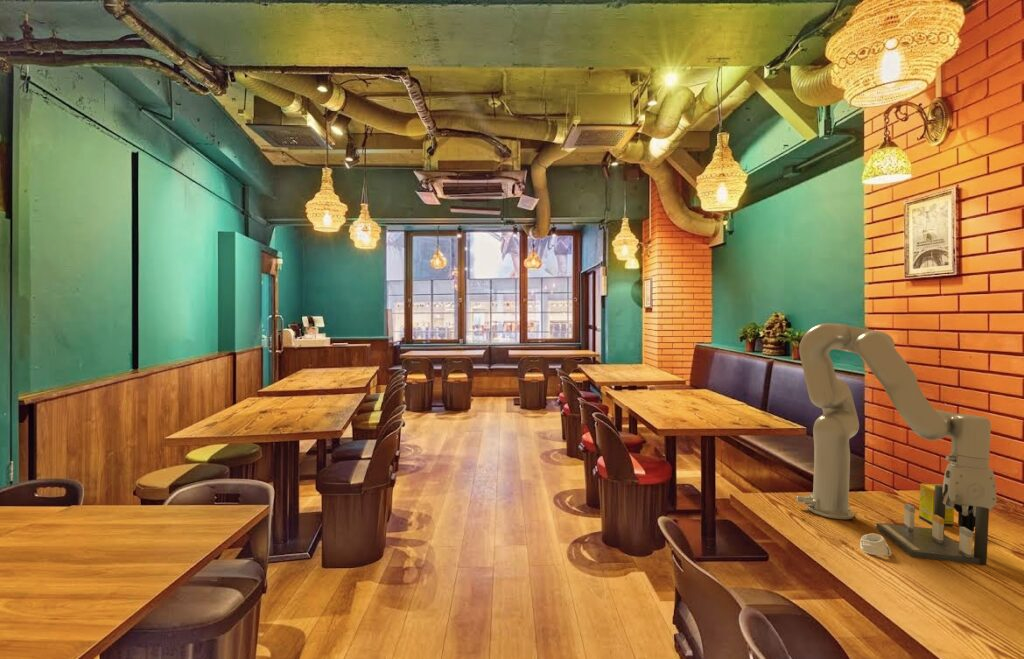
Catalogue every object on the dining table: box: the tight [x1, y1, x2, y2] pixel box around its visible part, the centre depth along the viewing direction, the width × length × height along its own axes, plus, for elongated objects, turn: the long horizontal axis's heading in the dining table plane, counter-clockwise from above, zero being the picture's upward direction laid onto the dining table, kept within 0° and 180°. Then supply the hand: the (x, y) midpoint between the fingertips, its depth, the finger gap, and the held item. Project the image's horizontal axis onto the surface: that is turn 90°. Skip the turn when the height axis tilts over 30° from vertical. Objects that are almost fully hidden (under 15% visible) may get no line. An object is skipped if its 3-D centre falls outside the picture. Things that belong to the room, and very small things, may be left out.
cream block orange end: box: [931, 514, 945, 541], centre depth 133 cm, size 1×3×6 cm, turn 167°
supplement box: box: [918, 483, 955, 527], centre depth 150 cm, size 6×6×11 cm
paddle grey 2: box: [958, 526, 974, 555], centre depth 126 cm, size 1×3×6 cm, turn 168°
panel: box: [875, 522, 980, 565], centre depth 134 cm, size 15×18×2 cm
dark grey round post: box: [934, 484, 990, 566], centre depth 132 cm, size 2×19×14 cm, turn 168°
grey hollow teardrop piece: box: [859, 532, 892, 557], centre depth 129 cm, size 8×7×5 cm
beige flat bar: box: [903, 503, 916, 528], centre depth 141 cm, size 1×3×6 cm, turn 168°
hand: (966, 529), depth 132 cm, fingers closed
